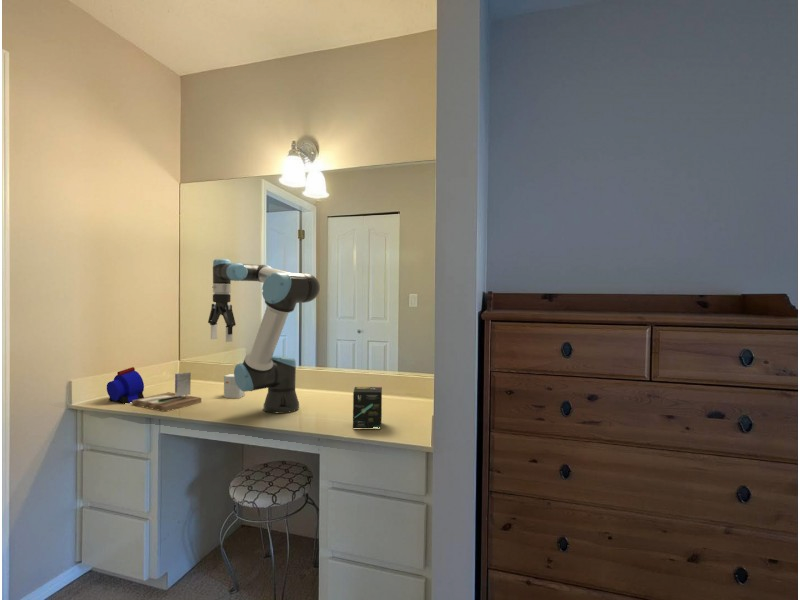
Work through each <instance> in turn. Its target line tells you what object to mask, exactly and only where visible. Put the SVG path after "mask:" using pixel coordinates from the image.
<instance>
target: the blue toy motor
mask: <svg viewBox="0 0 800 600" xmlns="http://www.w3.org/2000/svg"><path fill="white" fill-rule="evenodd" d="M144 389H145V383H144V380H143V378H142V376H141V374H140V373H139V372H138V371H136V369H135V367H134V366H132V367H129V368H125V369H123V370H120V371H117V374H116V375H115V376H114V378H113V380H111V381H109V382H107V384H106V392H107V394H108V397H109V399H108V401H109V400H110V401H114V402H117V401H120V403H122V404H123V403H124V404H123V405H126V404H125V403H128V404H131V403H130V402H132V400H136V399H141V398H145V396H144V393H143V392H144Z"/></svg>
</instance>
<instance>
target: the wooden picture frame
mask: <svg viewBox="0 0 800 600" xmlns="http://www.w3.org/2000/svg"><path fill="white" fill-rule="evenodd" d="M170 397H176V396H175V392H169V391H168V392H163V393H159V394H155V395H149V396H147V397H145V396H144V398H141V399H136V400H132V404H134V405H133V406H136V405H139V406H138V407H141V406H144V407H143V408H146V407H148V408H147V409H151V408H153V409H152V410H156V409H159V410H158V411H161V410H164V411H163V412H169V411H168V410H170V411H173V410H172V409H174V410H177V409H181V408H184V406H185V407H188V405H189V406H192V404H193V405H195V404H199V403H202V397H200V396H199V397H198V396H192V395H186V397H184V398H176V399H170V400H165V401H159V399H164V398H170ZM180 407H181V408H180ZM176 408H177V409H176Z"/></svg>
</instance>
